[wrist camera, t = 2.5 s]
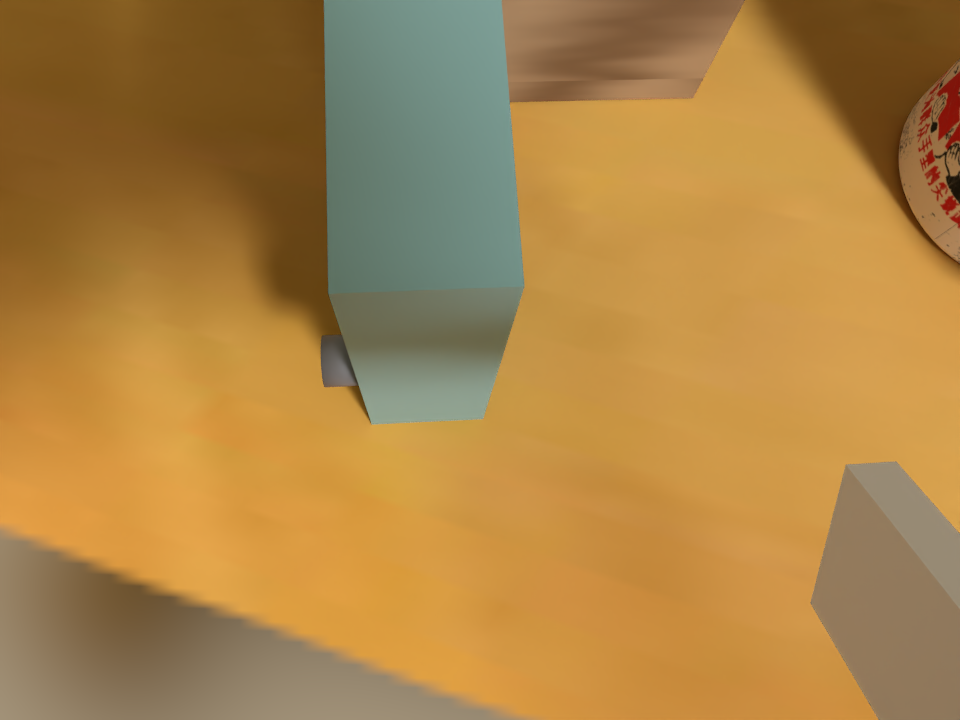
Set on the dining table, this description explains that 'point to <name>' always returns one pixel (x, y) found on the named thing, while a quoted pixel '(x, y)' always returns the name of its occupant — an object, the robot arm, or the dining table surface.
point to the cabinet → (612, 47)
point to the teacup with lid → (935, 161)
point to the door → (419, 205)
